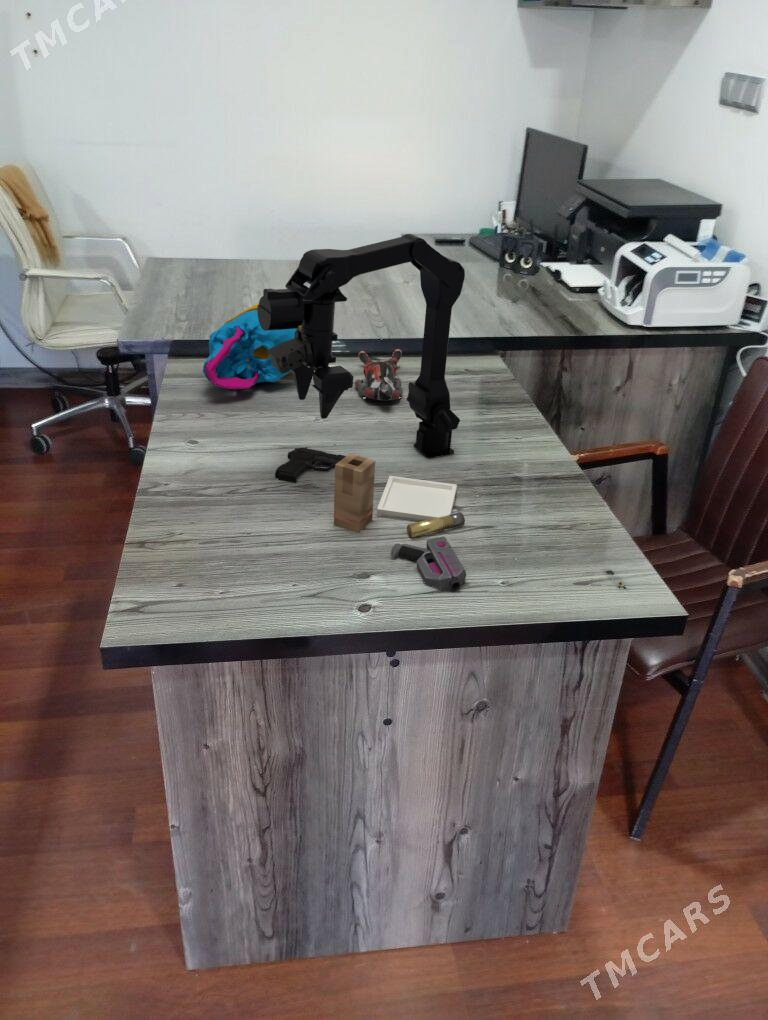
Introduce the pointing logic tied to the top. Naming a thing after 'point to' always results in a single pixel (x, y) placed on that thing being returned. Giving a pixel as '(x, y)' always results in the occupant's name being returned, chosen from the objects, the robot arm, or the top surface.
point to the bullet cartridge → (435, 525)
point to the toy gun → (434, 563)
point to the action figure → (380, 378)
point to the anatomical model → (243, 352)
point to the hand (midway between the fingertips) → (312, 408)
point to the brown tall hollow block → (354, 492)
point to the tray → (416, 499)
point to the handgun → (305, 463)
